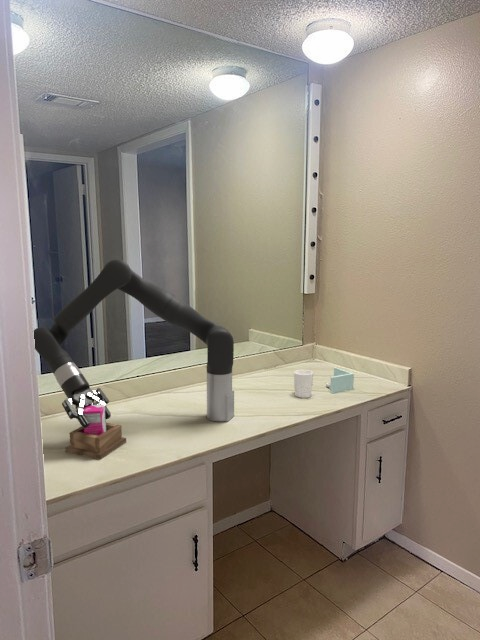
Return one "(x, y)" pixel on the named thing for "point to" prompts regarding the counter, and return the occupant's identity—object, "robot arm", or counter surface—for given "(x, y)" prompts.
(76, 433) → the post socket
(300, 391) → the white cup
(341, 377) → the right angle wall
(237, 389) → the counter surface
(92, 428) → the supplement box
